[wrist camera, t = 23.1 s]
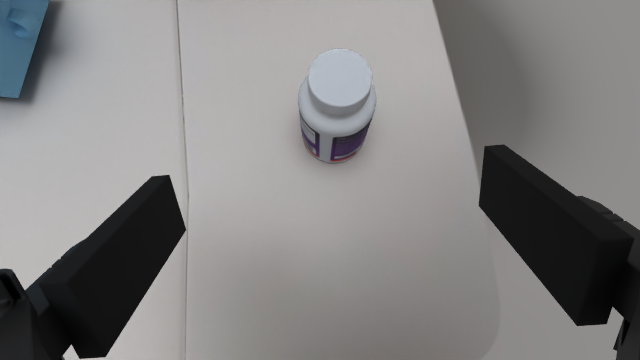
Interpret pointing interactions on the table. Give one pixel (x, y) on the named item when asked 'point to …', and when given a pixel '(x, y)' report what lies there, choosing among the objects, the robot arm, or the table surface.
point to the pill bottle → (336, 105)
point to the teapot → (18, 41)
